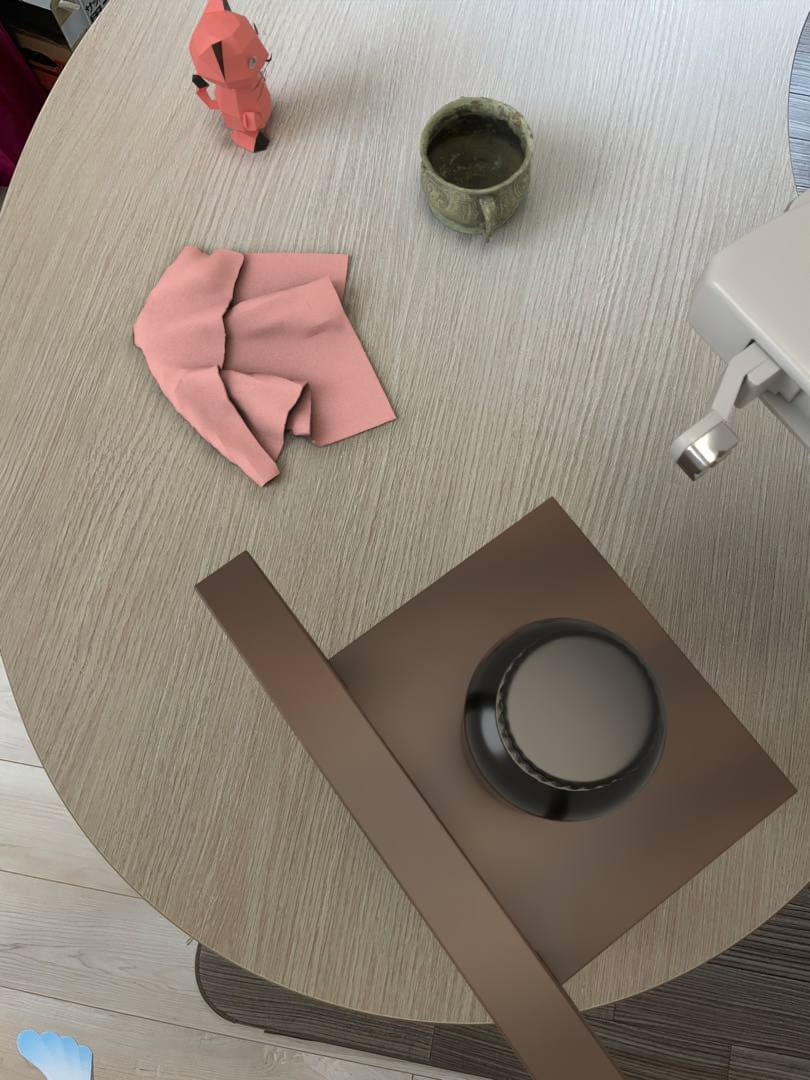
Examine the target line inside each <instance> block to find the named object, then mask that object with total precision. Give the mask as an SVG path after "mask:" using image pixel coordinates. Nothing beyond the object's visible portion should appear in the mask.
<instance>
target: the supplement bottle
mask: <svg viewBox="0 0 810 1080" xmlns="http://www.w3.org/2000/svg"><path fill="white" fill-rule="evenodd" d="M666 734H667V713H666V706H665V701H664V697H663V693H662V690H661V688H660V685H659V682H658V680H657V678H656V676H655V674H654V672H653V671H652V669H651V667H650V666H649V664H648V663H647V661H646V660H645V659H644V657H643V656H642V655H641V654H640V653H639V652H638V650H636V649H635V648H634V647H633V646H632V645H631V644H630V643H629V642H628V641H626V640H625V639H624V638H623V637H621V636H620V635H618V634H617V633H615V632H613V631H611V630H609V629H608V628H606V627H603V626H601V625H598V624H596V623H593V622H589V621H586V620H581V619H574V618H549V619H543V620H538V621H535V622H531V623H528V624H526V625H523V626H521V627H519V628H517V629H515V630H513V631H512V632H510V633H508V634H507V635H505V636H504V637H503V638H502V639H500V640H499V641H498V642H497V643H496V644H495V645H494V646H493V647H492V648H491V649H490V650H489V651H488V652H487V653H486V654H485V656H484V657H483V658H482V660H481V661H480V663H479V664H478V666H477V668H476V670H475V671H474V673H473V676H472V678H471V680H470V683H469V686H468V690H467V693H466V698H465V703H464V708H463V714H462V722H461V735H462V743H463V749H464V752H465V756H466V759H467V761H468V764H469V766H470V768H471V770H472V772H473V774H474V775H475V777H476V778H477V780H478V781H479V783H480V784H481V785H482V786H483V787H484V788H485V790H486V791H487V792H488V793H489V794H491V795H492V796H493V797H494V798H495V799H497V800H498V801H500V802H501V803H502V804H504V805H506V806H508V807H509V808H511V809H514V810H516V811H518V812H521V813H524V814H527V815H531V816H535V817H538V818H543V819H547V820H552V821H560V822H575V821H584V820H590V819H594V818H597V817H601V816H604V815H606V814H609V813H611V812H613V811H615V810H617V809H619V808H620V807H622V806H623V805H625V804H626V803H628V802H629V801H630V800H632V799H633V798H634V797H635V796H636V795H637V794H638V793H639V792H640V791H641V790H642V789H643V788H644V787H645V785H646V784H647V783H648V782H649V780H650V779H651V777H652V775H653V774H654V772H655V770H656V768H657V766H658V764H659V762H660V759H661V756H662V754H663V750H664V746H665V741H666Z"/></svg>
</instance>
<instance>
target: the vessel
mask: <svg viewBox="0 0 810 1080" xmlns="http://www.w3.org/2000/svg"><path fill="white" fill-rule="evenodd" d="M426 121H427V122H426V123H425V126H424V127H423V129H422V131H421V134H420V140H419V155H420V159H421V161H420V177H419V181H420V182H419V183H420V187H421V189H422V191H423V193H424V196H425V197H426V199H427V204H428V206H429V208H430V209H431V212H432V214H433V216H434V217H435V218H436V219H437V220H438V221H440V222H441V224H443V225H444V226H446V227H447V228H450V229H452V230H454V231H456V232H459V233H463V234H467V235H481V234H482V239H483V242H484V243H486V244H489V243H490V238H492V237H494V234H495V230H496V229H498V228H500V227H502V226H503V225H504V224H505V223H506V222H507V221H508V220H509V219H511V217H513V216H514V214H515V212H516V210H517V208H518V206H519V205H520V203H521V202H522V201H523V198H524V197H525V194H526V192H527V190H528V187H529V185H530V182H531V164H532V163H531V160H532V158H533V156H534V142H535V141H534V134H533V131H532V129H531V127H530V125H529V123H528V122H527V120H526V118H525V116H524V115H523V114H522V113H521V112H520V111H518V110H517V109H515V108H514V107H513V106H511V105H510V104H509V103H505V102H502V101H500V100H497V99H495V98H491V97H486V96H485V97H484V96H464V95H461V96H460V98H457V99H455V100H452V101H450V102H448V103H446V104H445V105H443V106H441V107H440V108H439V109H438V110H437V111H436V112H435V113H434V114H433V115H432V116H431V117H430V118H428V120H426Z"/></svg>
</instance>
